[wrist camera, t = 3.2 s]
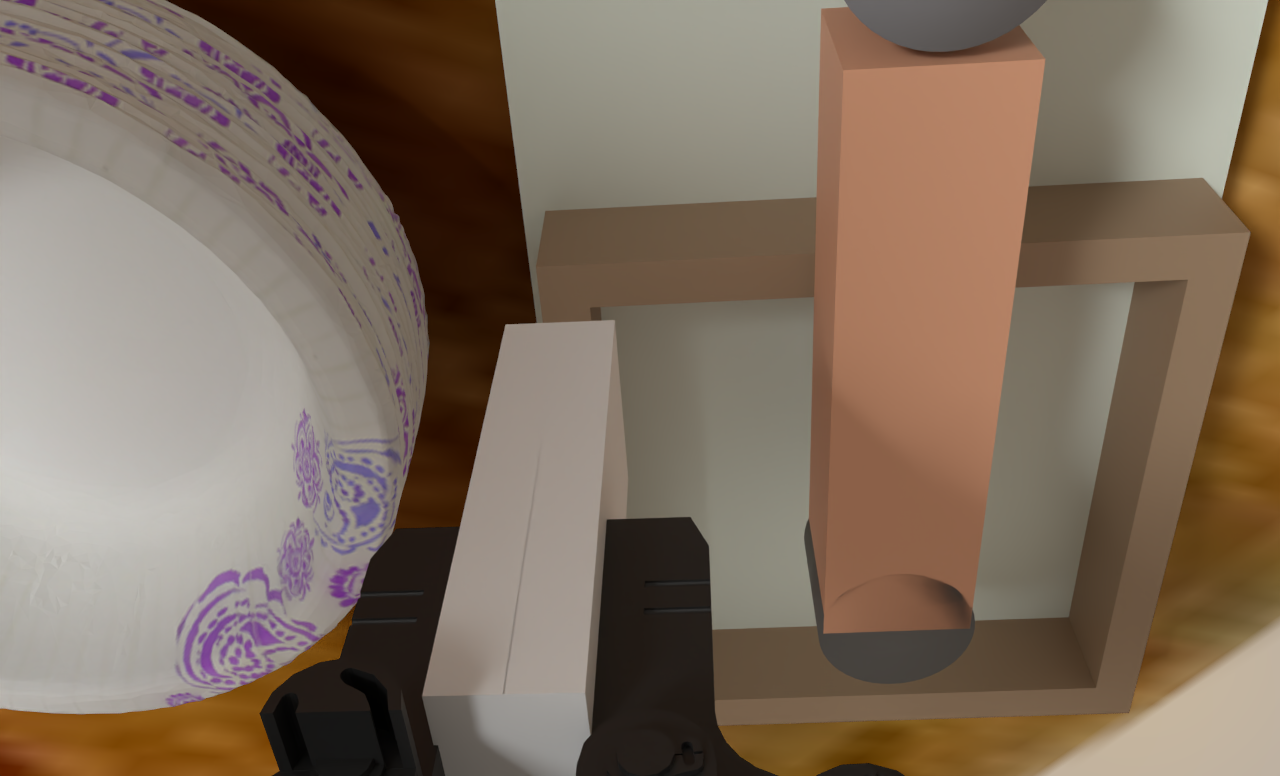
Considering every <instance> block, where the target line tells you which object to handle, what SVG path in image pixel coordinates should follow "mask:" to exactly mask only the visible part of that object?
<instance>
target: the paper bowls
mask: <svg viewBox="0 0 1280 776" xmlns="http://www.w3.org/2000/svg"><path fill="white" fill-rule="evenodd" d="M429 344H430V343H429V337H428V317H427V313H426V310H425V295H424V290H423V287H422V283H421V280H420V276H419V272H418V265H417V262H416V259H415V256H414V254H413V253H412V250H411V247H410V244H409V241H408V239H407V237H406V234H405V233H404V228H403V226H402V225H401V224H400V219H399V216H398V215H397V214H395V213H394V209H393V205H392V203H391V201H390V199H389V198H388V196H387V195H385V194H384V192H383V191H382V189H381V188H380V186H379V184H378V183H377V181H376V180H375V179H374V177H373V176H372V174H371V173H370V172H369V170H368V169H367V168H366V166H365V165H364V163H363V162H362V160H361V159H360V157H359V156H358V154H357V153H356V151H355V150H354V149H353V147H352V146H351V145H350V144H349V142H348V141H347V140H346V139H345V138H344V136H343V135H342V134H341V133H340V132H339V131H338V130H337V129H336V128H335V127H334V126H333V125H332V123H331V122H330V121H329V120H328V119H327V118H326V117H325V116H324V115H322V114H321V113H320V111H319V110H318V109H317V108H316V107H315V106H314V105H313V104H312V103H311V101H310V100H309V99H308V97H307V96H306V95H304V94H303V93H302V92H300V91H299V90H298V89H297V88H296V87H295V86H294V85H293V84H292V83H290V82H289V81H288V80H287V79H286V78H284V77H283V76H282V75H281V74H280V73H279V72H278V71H277V70H276V68H274V67H273V66H272V65H270V64H269V63H267V62H266V61H265V60H263V59H262V58H260V57H259V56H258V55H256V54H255V53H254V52H252V51H251V50H249V49H248V48H247V47H245V46H244V45H242V44H241V43H240V42H238V41H237V40H235V39H234V38H232V37H231V36H229V35H228V34H226V33H225V32H224V31H222V30H221V29H219V28H217V27H216V26H214V25H213V24H211V23H209V22H208V21H206V20H204V19H202V18H201V17H199V16H197V15H195V14H193V13H191V12H189V11H186V10H184V9H182V8H180V7H178V6H176V5H174V4H172V3H170V2H168V1H166V0H0V708H7V709H10V710H19V711H34V712H45V713H65V714H97V713H125V712H131V711H145V710H153V709H158V708H164V707H174V706H177V705H181V704H185V703H188V702H194V701H201V700H203V699H205V698H209V697H213V696H215V695H218V694H222V693H225V692H229V691H231V690H233V689H234V688H237V687H239V686H242V685H245V684H248V683H251V682H253V681H254V680H256V679H257V678H260V677H262V676H264V675H266V674H268V673H271V672H273V671H275V670H277V669H279V668H280V667H282V666H283V665H287V664H289V663H291V662H292V661H293V660H294V659H295V658H296V657H297V656H298V655H299V654H301V653H302V652H304V651H306V650H308V649H309V648H310V647H312V646H313V645H314V644H315V643H316V642H317V641H319V640H320V639H321V638H322V637H323V636H324V635H326V634H327V633H329V632H330V631H332V630H333V629H334V628H335V627H336V626H337V624H338V622H340V621H341V620H342V619H343V618H344V617H345V616H346V615H347V613H348V612H349V611H350V610H351V609H352V607H353V606H354V605H355V604H356V603H357V601H358V598H360V591H361V588H362V584H363V581H364V578H365V575H366V571H367V568H368V565H369V562H370V559H371V557H372V556H373V555H374V554H375V553H376V552H377V551H378V549H379V548H380V547H381V546H382V545H383V544H384V542H385V541H386V540H387V539H388V538H389V537H390V536H391V534H392V532H393V529H394V525H395V521H396V515H397V511H398V507H399V503H400V499H401V495H402V491H403V488H404V484H405V481H406V478H407V474H408V470H409V465H410V462H411V458H412V454H413V450H414V445H415V440H416V436H417V432H418V428H419V424H420V418H421V412H422V407H423V402H424V397H425V391H426V380H427V364H428V356H429Z"/></svg>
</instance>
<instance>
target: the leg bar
mask: <svg viewBox="0 0 1280 776" xmlns="http://www.w3.org/2000/svg"><path fill="white" fill-rule="evenodd" d="M844 1H845V2H846V4H847V5H848V7H840V8H823V9H821V33H820V74H819V116H818V158H817V199H816V241H815V283H814V324H813V366H812V408H811V449H810V491H809V519H808V521H807V523H806V527H805V532H804V544H805V550H806V557H807V564H808V571H809V577H810V584H811V591H812V598H813V604H814V611H815V618H816V624H817V631H818V638H819V643H820V647H821V649H822V652H823V654H824V655H825V657H826V658H827V660H828V661H829V662H830V663H831V664H832V665H833V666H834V667H835V668H837V669H838V670H839V671H841V672H843V673H844V674H846V675H848V676H851V677H853V678H855V679H859V680H862V681H866V682H871V683H879V684H898V683H906V682H912V681H916V680H920V679H923V678H926V677H929V676H931V675H933V674H935V673H938V672H940V671H941V670H943V669H945V668H946V667H948V666H949V665H951V664H952V663H953V662H955V661H956V660H957V659H958V658H959V657H960V656H961V655H962V654H963V652H964V651H965V650H966V649H967V647H968V645H969V644H970V642H971V639H972V637H973V634H974V630H975V617H974V612H973V601H974V594H975V586H976V579H977V571H978V564H979V556H980V548H981V541H982V533H983V526H984V518H985V511H986V503H987V496H988V488H989V481H990V473H991V466H992V458H993V451H994V443H995V436H996V428H997V421H998V413H999V406H1000V398H1001V391H1002V383H1003V375H1004V368H1005V360H1006V353H1007V345H1008V338H1009V330H1010V323H1011V315H1012V308H1013V300H1014V293H1015V285H1016V278H1017V270H1018V263H1019V255H1020V248H1021V240H1022V233H1023V225H1024V217H1025V210H1026V202H1027V195H1028V187H1029V180H1030V172H1031V165H1032V157H1033V150H1034V142H1035V135H1036V127H1037V120H1038V112H1039V105H1040V97H1041V90H1042V82H1043V75H1044V67H1045V60H1046V59H1045V58H1044V57H1043V55H1042V54H1041V53H1040V51H1039V50H1038V49H1037V47H1036V46H1035V45H1034V44H1033V42H1032V41H1031V40H1030V38H1029V37H1028V36H1027V35H1026V33H1025V32H1024V31H1023V29H1022V28H1021V27H1020V24H1021V23H1023V22H1024V21H1025V20H1027V19H1028V18H1029V17H1030V16H1031V15H1033V14H1034V13H1035V12H1036V11H1037V10H1038V9H1039V8H1040V7H1041V6H1042V5H1043V4H1044V3H1045V2H1046V1H1047V0H844Z"/></svg>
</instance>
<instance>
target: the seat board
mask: <svg viewBox="0 0 1280 776" xmlns="http://www.w3.org/2000/svg"><path fill="white" fill-rule="evenodd" d="M495 3H496V11H497V19H498V26H499V34H500V42H501V50H502V57H503V65H504V73H505V81H506V88H507V96H508V104H509V112H510V119H511V127H512V135H513V143H514V150H515V158H516V166H517V174H518V181H519V189H520V197H521V205H522V212H523V220H524V228H525V236H526V243H527V251H528V259H529V267H530V274H531V282H532V290H533V298H534V305H535V313H536V321H537V323H555V322H580V321H604V320H615V328H616V340H617V352H618V364H619V375H620V387H621V399H622V411H623V423H624V434H625V446H626V458H627V470H628V491H627V510H626V519H637V518H668V517H691V518H692V520H693V522H694V523H695V525H696V526H697V528H698V529H699V531H700V532H701V534H702V536H703V537H704V539H705V540H706V542H707V543H708V545H709V557H710V583H711V609H712V635H713V663H714V691H715V714H716V719H717V724H718V726H724V725H756V724H789V723H821V722H853V721H885V720H917V719H949V718H981V717H1014V716H1046V715H1078V714H1110V713H1129V711H1130V707H1131V703H1132V699H1133V696H1134V692H1135V688H1136V684H1137V680H1138V676H1139V672H1140V668H1141V664H1142V660H1143V656H1144V652H1145V648H1146V644H1147V640H1148V636H1149V632H1150V628H1151V624H1152V620H1153V617H1154V613H1155V609H1156V605H1157V601H1158V597H1159V593H1160V589H1161V585H1162V581H1163V577H1164V573H1165V569H1166V565H1167V561H1168V557H1169V553H1170V549H1171V545H1172V541H1173V537H1174V534H1175V530H1176V526H1177V522H1178V518H1179V514H1180V510H1181V506H1182V502H1183V498H1184V494H1185V490H1186V486H1187V482H1188V478H1189V474H1190V470H1191V466H1192V462H1193V458H1194V455H1195V451H1196V447H1197V443H1198V439H1199V435H1200V431H1201V427H1202V423H1203V419H1204V415H1205V411H1206V407H1207V403H1208V399H1209V395H1210V391H1211V387H1212V383H1213V379H1214V376H1215V372H1216V368H1217V364H1218V360H1219V356H1220V352H1221V348H1222V344H1223V340H1224V336H1225V332H1226V328H1227V324H1228V320H1229V316H1230V312H1231V308H1232V304H1233V300H1234V296H1235V293H1236V289H1237V285H1238V281H1239V277H1240V273H1241V269H1242V265H1243V261H1244V257H1245V253H1246V249H1247V245H1248V241H1249V237H1250V233H1251V232H1250V231H1249V230H1248V229H1247V227H1246V226H1245V225H1244V224H1243V223H1242V222H1241V221H1240V219H1239V218H1238V217H1237V216H1236V215H1235V214H1234V213H1233V211H1232V210H1231V209H1230V208H1229V207H1228V206H1227V205H1226V204H1225V202H1224V201H1223V200H1222V196H1223V191H1224V187H1225V183H1226V178H1227V174H1228V170H1229V166H1230V161H1231V157H1232V153H1233V149H1234V144H1235V140H1236V136H1237V131H1238V127H1239V123H1240V119H1241V114H1242V110H1243V106H1244V101H1245V97H1246V93H1247V89H1248V84H1249V80H1250V76H1251V72H1252V67H1253V63H1254V59H1255V54H1256V50H1257V46H1258V42H1259V37H1260V33H1261V29H1262V24H1263V20H1264V16H1265V12H1266V7H1267V3H1268V0H1047V1H1046V2H1045V3H1044V4H1043V5H1042V6H1041V7H1040V8H1039V9H1038V10H1037V11H1036V12H1035V13H1034V14H1033V15H1031V16H1030V17H1029V18H1028V19H1027V20H1025V21H1024V22H1023V23H1021V24H1020V27H1021V28H1022V29H1023V31H1024V32H1025V33H1026V35H1027V36H1028V37H1029V38H1030V40H1031V41H1032V42H1033V44H1034V45H1035V46H1036V47H1037V49H1038V50H1039V51H1040V53H1041V54H1042V55H1043V57H1044V58H1045V59H1046V60H1045V67H1044V75H1043V82H1042V90H1041V97H1040V105H1039V112H1038V120H1037V127H1036V135H1035V142H1034V150H1033V157H1032V165H1031V172H1030V180H1029V187H1028V195H1027V202H1026V210H1025V217H1024V225H1023V233H1022V240H1021V248H1020V255H1019V263H1018V270H1017V278H1016V285H1015V293H1014V300H1013V308H1012V315H1011V323H1010V330H1009V338H1008V345H1007V353H1006V360H1005V368H1004V375H1003V383H1002V391H1001V398H1000V406H999V413H998V421H997V428H996V436H995V443H994V451H993V458H992V466H991V473H990V481H989V488H988V496H987V503H986V511H985V518H984V526H983V533H982V541H981V548H980V556H979V564H978V571H977V579H976V586H975V594H974V601H973V612H974V617H975V630H974V634H973V637H972V639H971V642H970V644H969V645H968V647H967V649H966V650H965V651H964V652H963V654H962V655H961V656H960V657H959V658H958V659H957V660H956V661H955V662H953V663H952V664H951V665H949V666H948V667H946V668H945V669H943V670H941V671H940V672H938V673H935V674H933V675H931V676H929V677H926V678H923V679H920V680H916V681H912V682H906V683H898V684H879V683H871V682H866V681H862V680H859V679H855V678H853V677H851V676H848V675H846V674H844V673H843V672H841V671H839V670H838V669H837V668H835V667H834V666H833V665H832V664H831V663H830V662H829V661H828V660H827V658H826V657H825V655H824V654H823V652H822V649H821V647H820V643H819V638H818V631H817V624H816V618H815V611H814V604H813V598H812V591H811V584H810V577H809V571H808V564H807V557H806V550H805V544H804V532H805V527H806V523H807V521H808V519H809V491H810V449H811V408H812V366H813V324H814V283H815V241H816V199H817V158H818V116H819V74H820V33H821V9H823V8H840V7H848V5H847V4H846V2H845V1H844V0H495Z"/></svg>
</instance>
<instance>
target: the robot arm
mask: <svg viewBox="0 0 1280 776" xmlns="http://www.w3.org/2000/svg"><path fill="white" fill-rule="evenodd" d="M627 491H628V470H627V458H626V446H625V434H624V423H623V411H622V399H621V387H620V375H619V364H618V352H617V340H616V328H615V320H604V321H580V322H555V323H530V324H505V329H504V333H503V338H502V342H501V347H500V351H499V356H498V360H497V365H496V369H495V373H494V378H493V382H492V387H491V391H490V396H489V400H488V405H487V409H486V414H485V418H484V422H483V427H482V431H481V436H480V440H479V445H478V449H477V454H476V458H475V463H474V467H473V471H472V476H471V480H470V485H469V489H468V494H467V498H466V503H465V507H464V511H463V516H462V520H461V525H460V527H435V528H403V529H396V530H395V531H394V532H393V533H392V534H391V536H390V537H389V538H388V539H387V540H386V541H385V542H384V544H383V545H382V546H381V547H380V548H379V549H378V551H377V552H376V553H375V554H374V555H373V556H372V557H371V559H370V562H369V565H368V568H367V571H366V575H365V578H364V581H363V584H362V588H361V591H360V598H358V601H357V604H356V607H355V610H354V614H353V617H352V626H350V627H349V630H348V633H347V636H346V640H345V643H344V646H343V649H342V653H341V656H340V659H338V660H332V661H326V662H320V663H317V664H315V665H313V666H311V667H309V668H307V669H304V670H302V671H300V672H298V673H296V674H293V675H292V676H291V677H290V678H289V679H288V680H286V681H285V682H284V683H283V684H282V685H281V686H279V687H278V688H277V689H276V690H275V691H273V692H272V694H271V696H270V697H269V699H268V701H267V702H266V704H265V706H264V707H263V709H262V711H261V712H260V716H261V719H262V722H263V724H264V727H265V730H266V733H267V736H268V739H269V741H270V744H271V747H272V750H273V753H274V756H275V758H276V761H277V764H278V767H279V770H280V771H279V772H277V773H276V774H274V775H272V776H777V775H775V774H772V773H769V772H767V771H764V770H762V769H759V768H756V767H755V766H753V765H752V764H750V763H749V762H747V761H746V760H744V759H743V758H741V757H740V756H739V755H738V754H737V753H736V752H735V751H734V750H733V749H732V748H731V747H730V746H729V745H728V744H727V743H726V741H725V739H724V737H723V735H722V733H721V731H720V729H719V728H718V724H717V719H716V714H715V691H714V663H713V635H712V609H711V583H710V557H709V545H708V543H707V542H706V540H705V539H704V537H703V536H702V534H701V532H700V531H699V529H698V528H697V526H696V525H695V523H694V522H693V520H692V518H691V517H668V518H637V519H626V510H627ZM817 776H904V775H903V774H901V773H900V772H898V771H896V770H892V769H889V768H885V767H881V766H877V765H874V764H870V763H865V764H847V765H840V766H837V767H835V768H832V769H830V770H828V771H825V772H823V773H821V774H818V775H817Z"/></svg>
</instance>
